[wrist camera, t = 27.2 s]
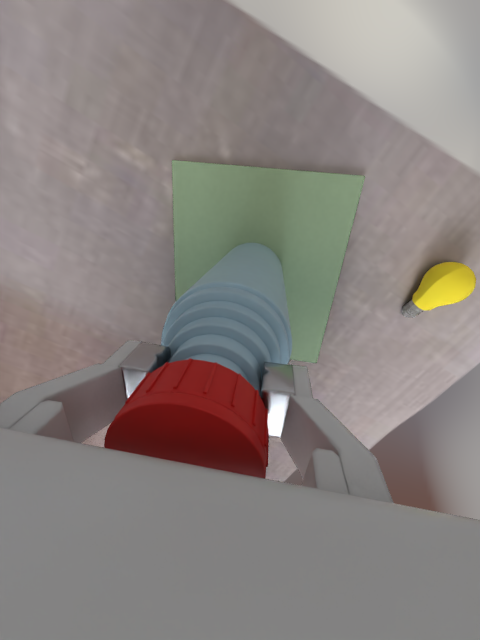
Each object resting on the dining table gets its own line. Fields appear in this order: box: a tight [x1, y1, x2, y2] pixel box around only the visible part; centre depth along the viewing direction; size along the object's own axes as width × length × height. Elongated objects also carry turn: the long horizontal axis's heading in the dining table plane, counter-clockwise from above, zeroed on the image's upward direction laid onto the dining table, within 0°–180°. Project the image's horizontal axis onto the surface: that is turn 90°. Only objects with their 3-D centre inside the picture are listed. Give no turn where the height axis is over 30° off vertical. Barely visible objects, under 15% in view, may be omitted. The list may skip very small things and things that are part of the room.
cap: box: [104, 358, 269, 479], centre depth 7 cm, size 4×4×2 cm
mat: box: [172, 160, 365, 363], centre depth 24 cm, size 18×16×1 cm
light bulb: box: [402, 262, 476, 318], centre depth 22 cm, size 3×6×4 cm, turn 151°
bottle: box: [161, 243, 292, 395], centre depth 15 cm, size 6×6×19 cm
